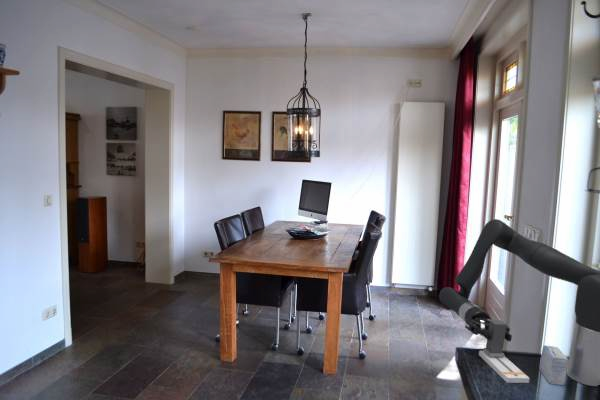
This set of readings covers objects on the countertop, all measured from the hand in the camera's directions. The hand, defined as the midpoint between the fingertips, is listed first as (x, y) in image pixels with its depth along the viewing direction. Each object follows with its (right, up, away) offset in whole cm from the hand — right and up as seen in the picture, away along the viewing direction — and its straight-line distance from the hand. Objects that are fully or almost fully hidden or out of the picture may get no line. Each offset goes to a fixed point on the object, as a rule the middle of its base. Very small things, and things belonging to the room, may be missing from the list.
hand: (500, 338), depth 134 cm
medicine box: (+13, -11, -5) cm, 18 cm away
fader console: (0, -9, -2) cm, 9 cm away
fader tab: (-1, -6, +3) cm, 7 cm away
